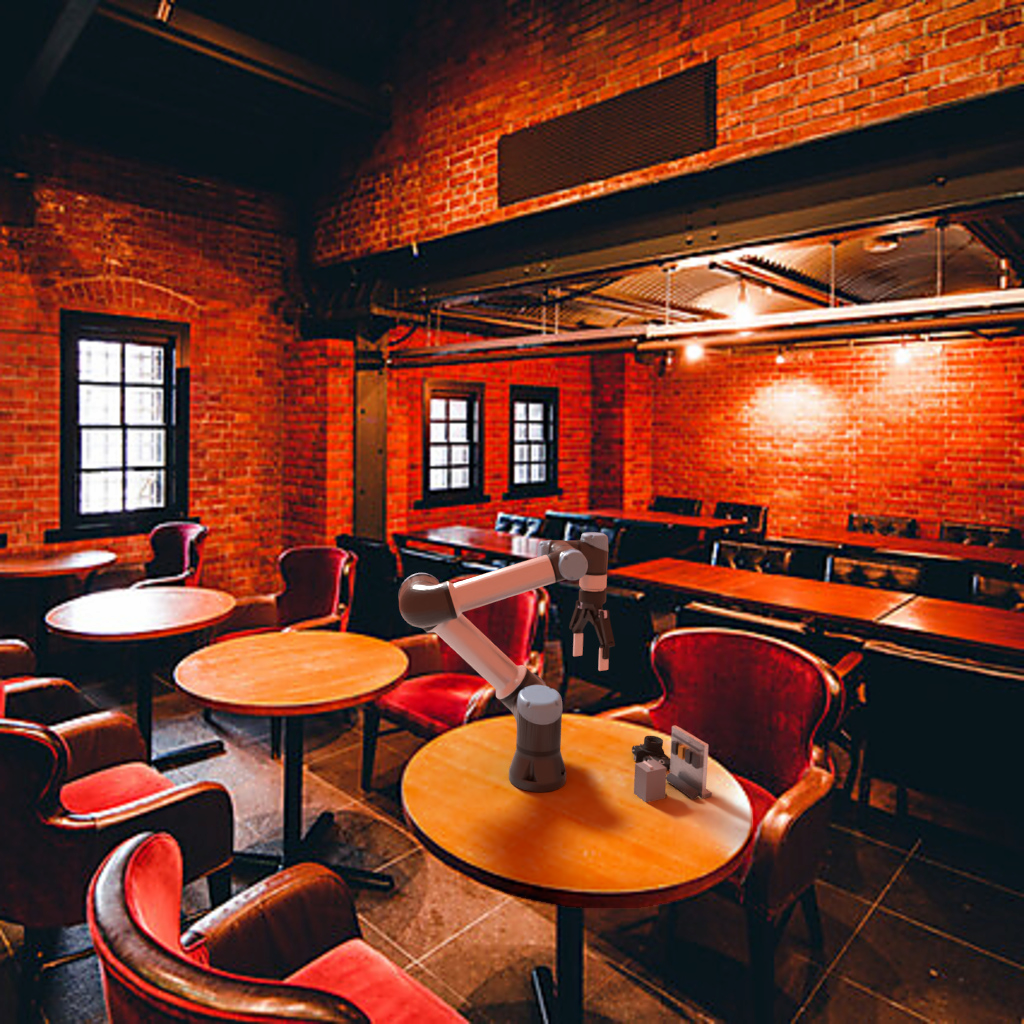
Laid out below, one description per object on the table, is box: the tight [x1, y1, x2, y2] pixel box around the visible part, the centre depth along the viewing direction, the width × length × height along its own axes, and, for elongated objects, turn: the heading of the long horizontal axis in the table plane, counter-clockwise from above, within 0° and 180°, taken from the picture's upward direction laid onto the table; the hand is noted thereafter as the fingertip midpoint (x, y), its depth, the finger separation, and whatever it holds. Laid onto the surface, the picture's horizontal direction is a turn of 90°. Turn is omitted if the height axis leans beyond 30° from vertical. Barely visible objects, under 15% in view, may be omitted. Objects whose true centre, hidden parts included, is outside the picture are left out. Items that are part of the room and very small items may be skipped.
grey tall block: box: [633, 760, 667, 803], centre depth 185 cm, size 7×5×9 cm
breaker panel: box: [669, 725, 713, 799], centre depth 190 cm, size 4×13×14 cm, turn 26°
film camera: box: [631, 735, 670, 771], centre depth 205 cm, size 13×8×10 cm
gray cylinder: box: [666, 772, 699, 800], centre depth 188 cm, size 10×2×2 cm, turn 26°
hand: (590, 662), depth 206 cm, fingers open, 13 cm apart
